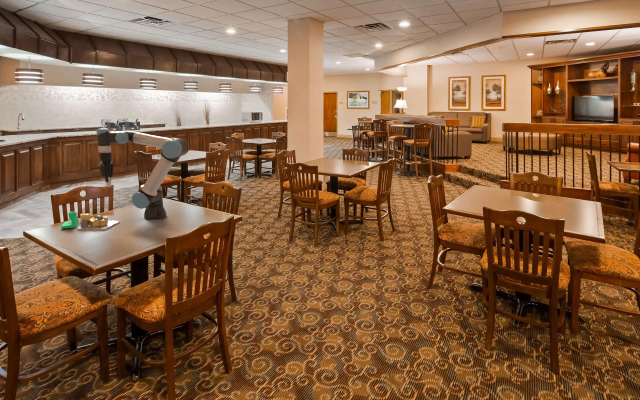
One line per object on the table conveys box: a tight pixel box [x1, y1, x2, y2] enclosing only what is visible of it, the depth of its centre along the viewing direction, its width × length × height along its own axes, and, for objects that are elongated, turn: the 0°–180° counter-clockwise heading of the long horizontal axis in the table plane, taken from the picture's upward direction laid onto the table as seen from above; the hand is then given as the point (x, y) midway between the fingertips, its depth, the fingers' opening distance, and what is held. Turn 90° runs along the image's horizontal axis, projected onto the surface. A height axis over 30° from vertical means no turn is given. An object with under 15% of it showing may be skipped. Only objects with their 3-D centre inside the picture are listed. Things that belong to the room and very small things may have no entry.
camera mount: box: [60, 211, 80, 229], centre depth 264 cm, size 12×8×10 cm, turn 19°
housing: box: [77, 214, 120, 231], centre depth 266 cm, size 19×18×7 cm
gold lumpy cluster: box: [79, 213, 109, 226], centre depth 265 cm, size 16×11×7 cm
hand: (108, 186), depth 274 cm, fingers closed
